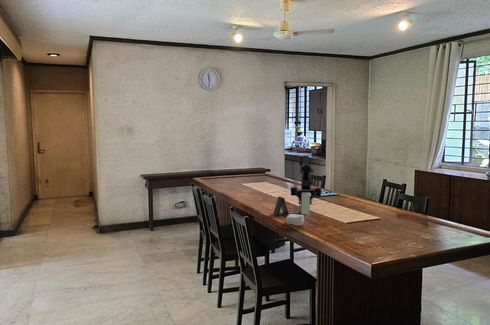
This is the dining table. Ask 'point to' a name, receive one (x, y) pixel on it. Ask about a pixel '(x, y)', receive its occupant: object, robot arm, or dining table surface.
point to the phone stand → (278, 206)
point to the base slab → (295, 223)
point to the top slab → (295, 218)
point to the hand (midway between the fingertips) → (305, 203)
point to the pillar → (305, 203)
